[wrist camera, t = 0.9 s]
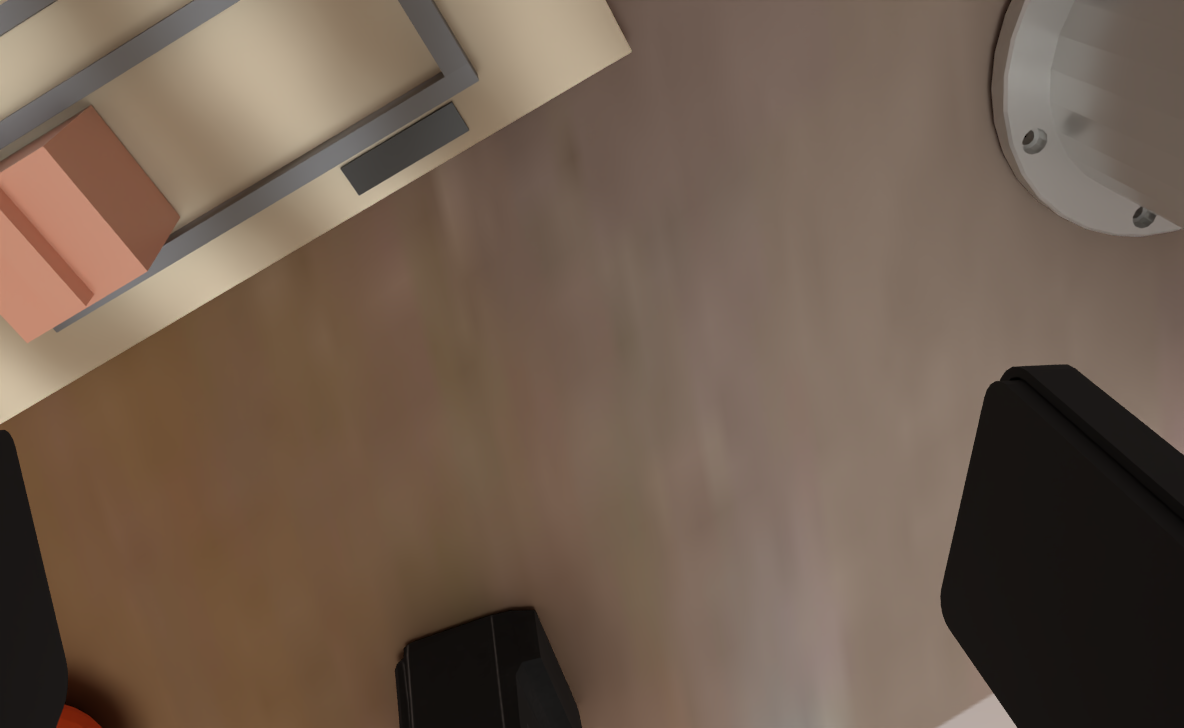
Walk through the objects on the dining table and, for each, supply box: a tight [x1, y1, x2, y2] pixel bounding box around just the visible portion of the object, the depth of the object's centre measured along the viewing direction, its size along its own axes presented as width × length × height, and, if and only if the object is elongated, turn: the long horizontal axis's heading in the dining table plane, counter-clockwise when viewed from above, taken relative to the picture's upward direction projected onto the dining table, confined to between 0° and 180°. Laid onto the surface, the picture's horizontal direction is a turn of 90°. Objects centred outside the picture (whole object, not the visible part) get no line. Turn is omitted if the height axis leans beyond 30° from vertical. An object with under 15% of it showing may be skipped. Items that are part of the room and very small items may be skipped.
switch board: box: [0, 0, 632, 424], centre depth 30 cm, size 24×17×2 cm
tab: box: [0, 105, 180, 343], centre depth 30 cm, size 4×4×5 cm
